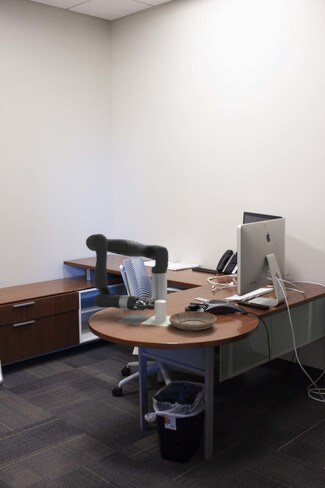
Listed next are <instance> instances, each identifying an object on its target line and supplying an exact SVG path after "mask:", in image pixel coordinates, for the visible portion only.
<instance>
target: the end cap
mask: <svg viewBox="0 0 325 488" xmlns="http://www.w3.org/2000/svg"><path fill="white" fill-rule="evenodd" d="M208 307H209V308H210V305H209V304H208V303H199V302H198V303H197V302H190V303H189V306H188V308H187V309H188V311H187V312H196V311H197V310H198V309H200V308H203V309H204V311H205V310H206V309H207V308H208ZM205 313H210V311H209V312H208V311H205Z"/></svg>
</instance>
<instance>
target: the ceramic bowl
mask: <svg viewBox="0 0 325 488" xmlns="http://www.w3.org/2000/svg"><path fill="white" fill-rule="evenodd" d="M170 316H171V317H170V318H169V320H170V323H171V324H170V325H172V326H173V327H175V328H177V329H180V330H184V331H203V330H206V329H209V328H211V327H213V326H214V325H215V324H216V322H217V316H216V315H214V314H212V313H210V312H209V313H205V312H188V311H182V312H178V313H174V314H172V315H170Z"/></svg>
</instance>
